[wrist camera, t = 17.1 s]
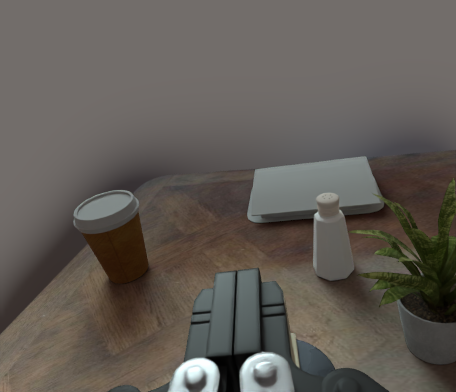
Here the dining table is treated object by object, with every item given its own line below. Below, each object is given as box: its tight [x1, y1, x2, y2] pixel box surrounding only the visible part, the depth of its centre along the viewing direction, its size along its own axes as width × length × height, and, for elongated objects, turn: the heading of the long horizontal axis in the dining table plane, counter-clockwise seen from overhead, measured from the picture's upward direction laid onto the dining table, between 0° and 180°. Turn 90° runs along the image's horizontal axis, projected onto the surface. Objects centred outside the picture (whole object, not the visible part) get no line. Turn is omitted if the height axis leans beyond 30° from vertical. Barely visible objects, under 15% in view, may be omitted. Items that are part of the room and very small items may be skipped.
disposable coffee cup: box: [73, 190, 148, 283], centre depth 60 cm, size 10×10×12 cm
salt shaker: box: [313, 193, 355, 281], centre depth 51 cm, size 5×5×11 cm
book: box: [247, 156, 384, 223], centre depth 71 cm, size 15×23×4 cm, turn 82°
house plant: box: [350, 179, 456, 365], centre depth 38 cm, size 14×14×16 cm
